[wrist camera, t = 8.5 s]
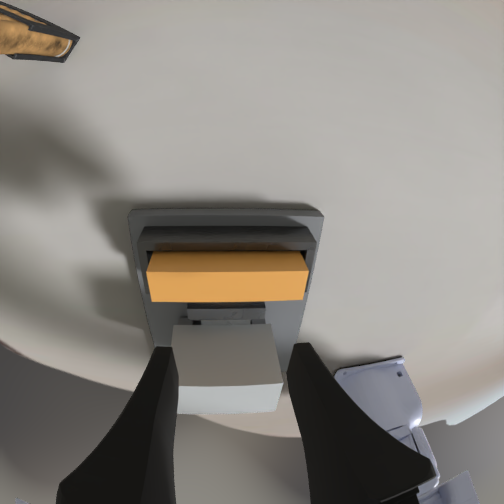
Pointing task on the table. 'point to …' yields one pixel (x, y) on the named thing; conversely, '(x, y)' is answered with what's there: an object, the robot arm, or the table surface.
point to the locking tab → (226, 276)
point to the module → (226, 368)
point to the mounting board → (277, 312)
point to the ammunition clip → (33, 36)
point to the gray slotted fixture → (225, 240)
